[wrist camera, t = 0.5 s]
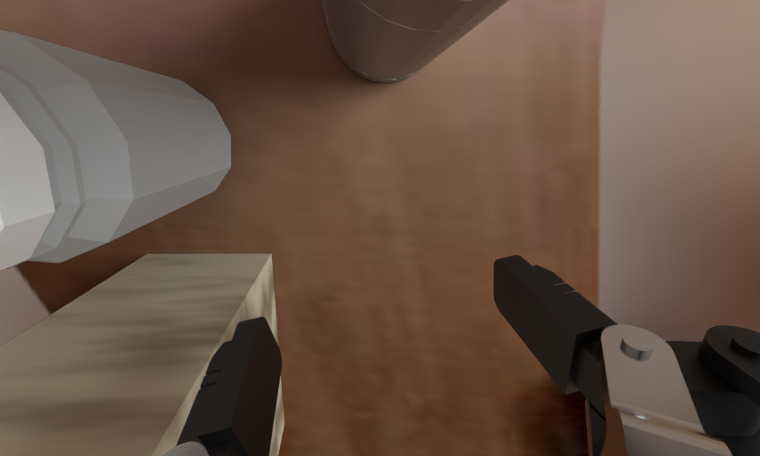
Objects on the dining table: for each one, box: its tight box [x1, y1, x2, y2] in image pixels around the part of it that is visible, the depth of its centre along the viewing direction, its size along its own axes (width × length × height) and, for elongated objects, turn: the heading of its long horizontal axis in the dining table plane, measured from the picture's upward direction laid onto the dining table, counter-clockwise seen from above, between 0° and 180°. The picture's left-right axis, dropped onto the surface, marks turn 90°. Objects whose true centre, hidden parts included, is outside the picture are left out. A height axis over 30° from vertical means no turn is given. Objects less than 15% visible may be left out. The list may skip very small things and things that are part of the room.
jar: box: [0, 30, 231, 270], centre depth 16 cm, size 10×10×18 cm
